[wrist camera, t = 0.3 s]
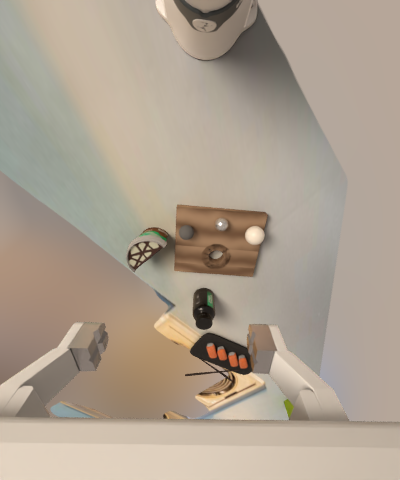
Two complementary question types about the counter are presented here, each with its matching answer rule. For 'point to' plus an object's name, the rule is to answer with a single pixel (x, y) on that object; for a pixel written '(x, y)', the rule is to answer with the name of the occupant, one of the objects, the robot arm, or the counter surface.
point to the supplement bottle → (203, 308)
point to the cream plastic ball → (254, 235)
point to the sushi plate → (222, 355)
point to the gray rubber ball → (186, 232)
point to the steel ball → (221, 224)
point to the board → (217, 241)
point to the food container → (145, 247)
